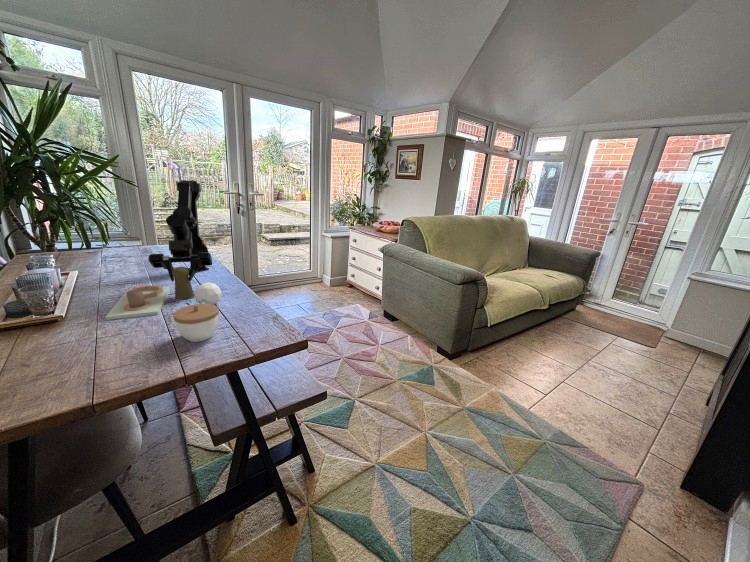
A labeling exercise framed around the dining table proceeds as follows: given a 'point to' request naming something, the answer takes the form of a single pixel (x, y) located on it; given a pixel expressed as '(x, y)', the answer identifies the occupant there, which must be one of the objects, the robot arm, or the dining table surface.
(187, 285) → the cork
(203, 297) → the faceted white bauble
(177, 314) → the lidded jar
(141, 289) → the pin board
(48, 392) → the dining table surface
